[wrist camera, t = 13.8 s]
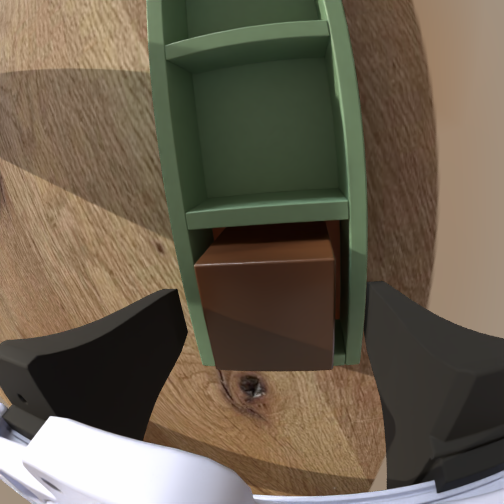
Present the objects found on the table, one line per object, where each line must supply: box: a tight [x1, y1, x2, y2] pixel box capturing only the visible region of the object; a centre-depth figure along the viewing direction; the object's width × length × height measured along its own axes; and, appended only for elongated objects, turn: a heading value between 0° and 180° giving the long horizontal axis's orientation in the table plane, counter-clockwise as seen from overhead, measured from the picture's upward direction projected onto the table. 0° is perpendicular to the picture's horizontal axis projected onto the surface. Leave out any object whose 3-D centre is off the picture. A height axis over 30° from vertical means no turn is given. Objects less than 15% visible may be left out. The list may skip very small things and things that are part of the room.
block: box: [194, 221, 336, 371], centre depth 12 cm, size 5×5×5 cm
